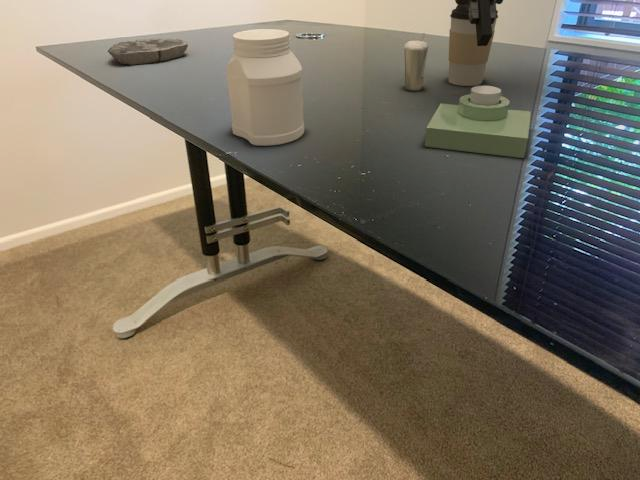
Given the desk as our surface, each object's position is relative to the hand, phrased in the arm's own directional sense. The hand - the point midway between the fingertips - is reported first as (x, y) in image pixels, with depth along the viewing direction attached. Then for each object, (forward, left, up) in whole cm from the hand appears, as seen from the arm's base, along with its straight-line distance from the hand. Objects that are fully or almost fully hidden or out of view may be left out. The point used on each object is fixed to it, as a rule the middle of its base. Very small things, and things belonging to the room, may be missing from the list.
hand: (484, 40), depth 77 cm
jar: (+30, +15, -13) cm, 36 cm away
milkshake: (+13, -17, -13) cm, 25 cm away
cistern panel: (-2, +7, -13) cm, 15 cm away
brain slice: (+84, -25, -13) cm, 89 cm away
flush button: (-2, +4, -8) cm, 9 cm away
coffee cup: (+4, -25, -13) cm, 29 cm away
